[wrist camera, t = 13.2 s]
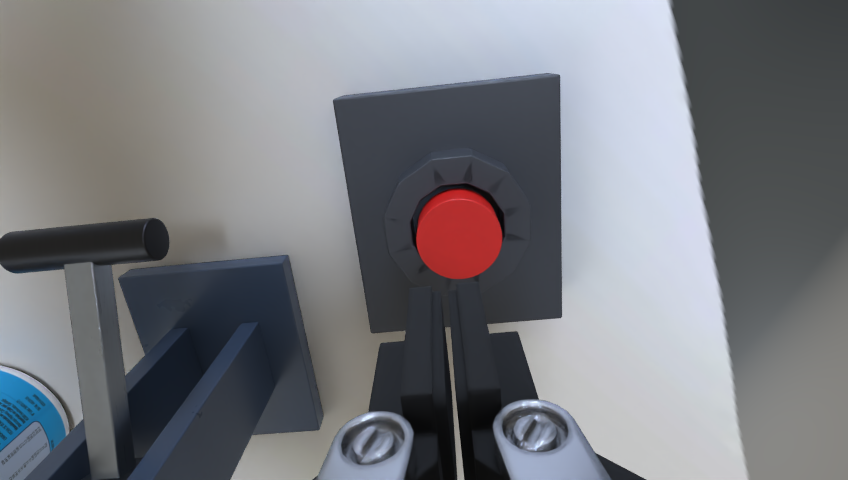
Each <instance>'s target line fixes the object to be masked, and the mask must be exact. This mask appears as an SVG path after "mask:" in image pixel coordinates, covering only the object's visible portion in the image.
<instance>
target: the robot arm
mask: <svg viewBox="0 0 848 480" xmlns="http://www.w3.org/2000/svg"><path fill="white" fill-rule="evenodd" d="M456 289H457V290H448V298H449V312H450V325H451V338H452V352H453V365H454V378H455V391H456V402H457V411H458V421H459V431H460V440H461V450H462V460H463V469H464V479H465V480H646V479H644V478H642V477H640V476H638V475H636V474H634V473H632V472H631V471H629V470H627V469H625V468H623V467H621V466H619V465H617V464H615V463H613V462H612V461H610V460H608V459H606V458H604V457H602V456H600V455H598V454H596V453H595V452H594V451H593V449H592V447H591V446H590V444H589V442H588V441H587V439H586V437H585V436H584V434H583V433H582V431H581V429H580V428H579V426H578V424H577V423H576V421H575V420H574V418H573V417H572V416H571V415H570V414H569V413H568V412H567V411H566V410H565V409H563V408H561V407H560V406H558V405H556V404H554V403H551V402H548V401H544V400H539V398H538V395H537V392H536V389H535V386H534V382H533V379H532V376H531V373H530V370H529V366H528V363H527V360H526V357H525V353H524V350H523V347H522V344H521V341H520V337H519V335H518V332H517V331H515V332H504V333H492V334H489V331H488V326H487V321H486V316H485V312H484V307H483V302H482V297H481V292H480V288H479V283H478V282H470V283H459V284H456ZM313 480H457V467H456V452H455V436H454V420H453V405H452V391H451V380H450V371H449V361H448V352H447V343H446V333H445V324H444V315H443V305H442V296H441V291H435V292H433V291H432V286H426V287H415V288H409V298H408V310H407V322H406V334H405V341H400V342H388V343H381V344H380V347H379V352H378V358H377V364H376V370H375V376H374V382H373V387H372V393H371V399H370V405H369V411H368V413H366V414H362V415H359V416H357V417H356V418H354V419H352V420H350V421H348V422H347V423H346V424H345V425H344V426H343V427H342V428H341V429H340V430H339V431H338V433H337V435H336V436H335V438H334V440H333V442H332V444H331V447H330V449H329V451H328V454H327V456H326V458H325V460H324V463H323V465H322V467H321V470H320V472H319V474H318V476H317V477H315V478H314V479H313Z"/></svg>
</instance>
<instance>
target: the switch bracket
mask: <svg viewBox="0 0 848 480" xmlns="http://www.w3.org/2000/svg"><path fill="white" fill-rule="evenodd" d="M118 280H119V283H120V286H121V288H122V291H123V294H124V297H125V300H126V302H127V305H128V308H129V311H130V314H131V316H132V319H133V322H134V325H135V328H136V330H137V333H138V336H139V339H140V342H141V344H142V347H143V350H144V353H145V356H144V357H143V358H142V359H141V360H140V361H139V362H138V363H137V364H136V365H135V366H134V368H133V369H132V370H131V371H130V372H129V373H128V374H127V375H126V376H125V380H126V388H127V396H128V404H129V412H130V421H131V429H132V437H133V445H134V453H135V458H142V457H143V458H142V460H141V461H140V462H139V464H138V465H137V466H136V468H135V469H134V470H133V472H132V473H131V475H130V476H129V477H128V479H127V480H230V479H231V477H232V475H233V473H234V471H235V469H236V467H237V465H238V463H239V461H240V459H241V457H242V454H243V452H244V450H245V448H246V446H247V444H248V442H249V440H250V438H251V436H252V435H258V434H272V433H287V432H301V431H315V430H320V427H321V423H322V420H323V412H322V408H321V403H320V398H319V394H318V389H317V385H316V380H315V376H314V371H313V366H312V362H311V357H310V353H309V348H308V344H307V339H306V334H305V330H304V325H303V321H302V316H301V312H300V307H299V302H298V298H297V293H296V289H295V284H294V280H293V275H292V270H291V266H290V261H289V257H288V255H282V256H271V257H261V258H250V259H239V260H228V261H217V262H206V263H195V264H184V265H173V266H162V267H151V268H140V269H131V270H129V271H128V272H126V273H125V274H123V275H122V276H120V277H119V278H118ZM88 474H90V466H89V458H88V450H87V442H86V434H85V426H84V419H83V420H82V421H81V422H80V423H79V424H78V425H77V426H76V427H75V428H74V429H73V430H72V431H71V432H70V433H69V434H68V435H67V436H66V437H65V438H64V439H63V440H62V441H61V442H60V443H59V444H58V445H57V446H56V447H55V448H54V449H53V450H52V451H51V452H50V453H49V454H48V455H47V456H46V457H45V458H44V459H43V460H42V461H41V462H40V463H39V464H38V466H37V467H36V468H35V469H34V470H33V471H32V472H31V473H30V474H29V475H28V476H27V477H26V478H25V479H24V480H81V479H83V478H84V477H86V476H87V475H88Z"/></svg>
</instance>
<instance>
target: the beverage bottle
mask: <svg viewBox="0 0 848 480" xmlns="http://www.w3.org/2000/svg"><path fill="white" fill-rule="evenodd" d="M68 434H69V423H68V419H67V416H66V413H65V411H64V409H63V407H62V405H61V404H60V402H59V401H58V399H57V398H56V397H55V396H54V395H53V394H52V392H51V391H49V390H48V389H47V388H46V387H45V386H44V385H43V384H41V383H40V382H38V381H37V380H35V379H34V378H32V377H30V376H29V375H27V374H25V373H22V372H20V371H18V370H15V369H12V368H8V367H5V366H0V480H24V479H25V478H26V477H27V476H28V475H29V474H30V473H31V472H32V471H33V470H34V469H35V468H36V467H37V466H38V464H39V463H40V462H41V461H42V460H43V459H44V458H45V457H46V456H47V455H48V454H49V453H50V452H51V451H52V450H53V449H54V448H55V447H56V446H57V445H58V444H59V443H60V442H61V441H62V440H63V439H64V438H65V437H66V436H67V435H68Z"/></svg>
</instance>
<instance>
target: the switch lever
mask: <svg viewBox="0 0 848 480" xmlns="http://www.w3.org/2000/svg"><path fill="white" fill-rule="evenodd" d="M168 249H169V235H168V231H167V229H166V227H165V225H164V224H163V222H162V221H160V220H159V219H156V218H149V219H138V220H128V221H118V222H107V223H97V224H87V225H76V226H66V227H56V228H46V229H35V230H25V231H15V232H9V233H7V234H5V235H4V236H3V237H2V238H1V239H0V264H1V265H2V267H3V268H4V269H6V270H7V271H9V272H12V273H28V272H39V271H50V270H60V269H64V270H65V278H66V285H67V293H68V301H69V309H70V317H71V325H72V332H73V340H74V348H75V356H76V364H77V372H78V379H79V387H80V395H81V403H82V411H83V419H84V426H85V434H86V442H87V450H88V458H89V466H90V474H88V475H87V476H86V477H84V478H83V479H81V480H127V479H128V477H129V476H130V475H131V473H132V472H133V470H134V469H135V468H136V466H137V465H138V464H139V462H140V461H141V460H142V458H143V457H142V458H135V453H134V445H133V437H132V429H131V421H130V412H129V404H128V396H127V388H126V380H125V372H124V364H123V356H122V348H121V339H120V331H119V323H118V315H117V307H116V299H115V291H114V283H113V274H112V266H111V265H115V264H126V263H137V262H147V261H158V260H161V259H163V258H164V257H165V256H166V254H167V252H168Z"/></svg>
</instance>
